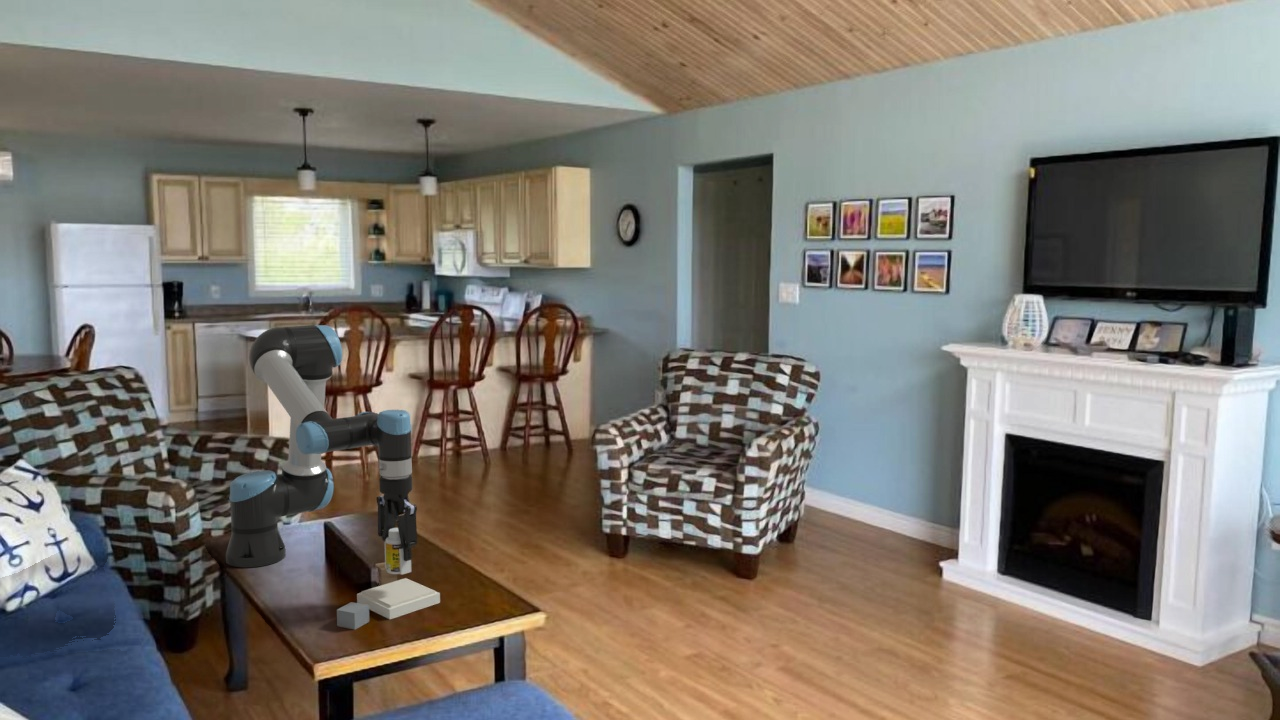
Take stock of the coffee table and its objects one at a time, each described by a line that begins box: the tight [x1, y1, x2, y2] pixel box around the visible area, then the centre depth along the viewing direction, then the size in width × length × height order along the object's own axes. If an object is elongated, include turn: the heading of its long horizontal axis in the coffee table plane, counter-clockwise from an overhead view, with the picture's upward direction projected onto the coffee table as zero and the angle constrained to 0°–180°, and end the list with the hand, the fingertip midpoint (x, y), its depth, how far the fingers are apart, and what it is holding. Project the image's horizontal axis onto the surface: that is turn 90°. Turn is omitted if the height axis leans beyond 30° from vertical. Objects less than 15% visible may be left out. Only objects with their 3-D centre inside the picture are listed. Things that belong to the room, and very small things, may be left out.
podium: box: [356, 577, 441, 620], centre depth 227 cm, size 14×14×3 cm
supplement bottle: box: [385, 527, 401, 575], centre depth 226 cm, size 6×6×10 cm
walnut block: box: [375, 561, 398, 586], centre depth 240 cm, size 5×4×5 cm
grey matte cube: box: [336, 601, 370, 631], centre depth 215 cm, size 5×5×4 cm
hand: (398, 569), depth 226 cm, fingers closed on supplement bottle, 5 cm apart
